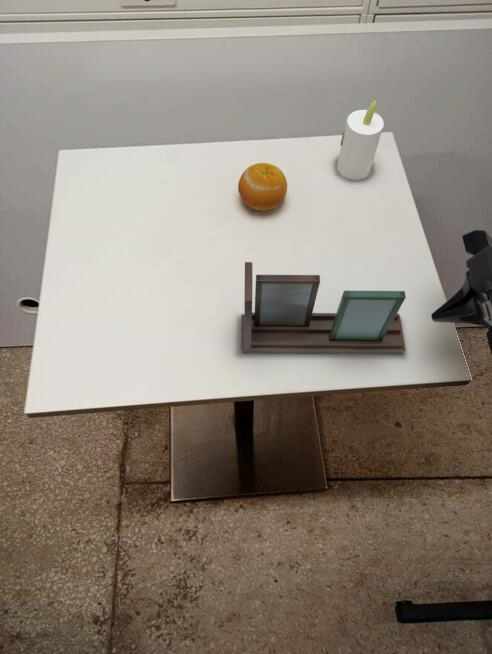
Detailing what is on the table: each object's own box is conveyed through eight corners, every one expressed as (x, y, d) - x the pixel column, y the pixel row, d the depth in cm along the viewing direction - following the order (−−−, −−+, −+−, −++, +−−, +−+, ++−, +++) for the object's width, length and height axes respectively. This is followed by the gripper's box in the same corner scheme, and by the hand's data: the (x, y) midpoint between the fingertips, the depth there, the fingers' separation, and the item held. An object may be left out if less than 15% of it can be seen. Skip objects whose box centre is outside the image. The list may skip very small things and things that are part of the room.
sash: (380, 335, 77) (404, 290, 65) (381, 341, 76) (406, 297, 65) (328, 335, 77) (343, 290, 65) (329, 341, 76) (344, 296, 65)
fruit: (299, 173, 90) (277, 151, 84) (288, 218, 89) (265, 199, 83) (260, 175, 95) (237, 154, 89) (250, 218, 94) (225, 200, 88)
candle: (338, 153, 98) (354, 83, 84) (372, 159, 97) (392, 90, 84) (333, 176, 95) (348, 108, 81) (367, 182, 94) (388, 115, 81)
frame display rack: (397, 320, 80) (429, 263, 66) (402, 354, 77) (437, 302, 64) (241, 318, 80) (241, 261, 66) (241, 352, 77) (240, 300, 64)
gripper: (510, 184, 61) (394, 240, 70) (554, 319, 52) (415, 361, 61) (540, 227, 68) (431, 272, 77) (584, 352, 59) (454, 385, 68)
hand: (432, 318), depth 71 cm, fingers closed
